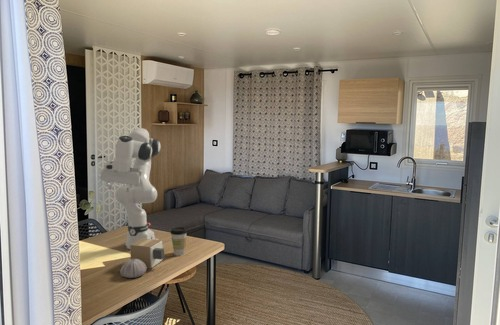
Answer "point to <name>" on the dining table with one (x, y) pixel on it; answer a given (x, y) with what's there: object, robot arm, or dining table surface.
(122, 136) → the robot arm
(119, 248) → the dining table surface
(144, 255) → the carton
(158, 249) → the flap
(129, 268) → the sea urchin shell
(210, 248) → the dining table surface
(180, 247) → the coffee cup
